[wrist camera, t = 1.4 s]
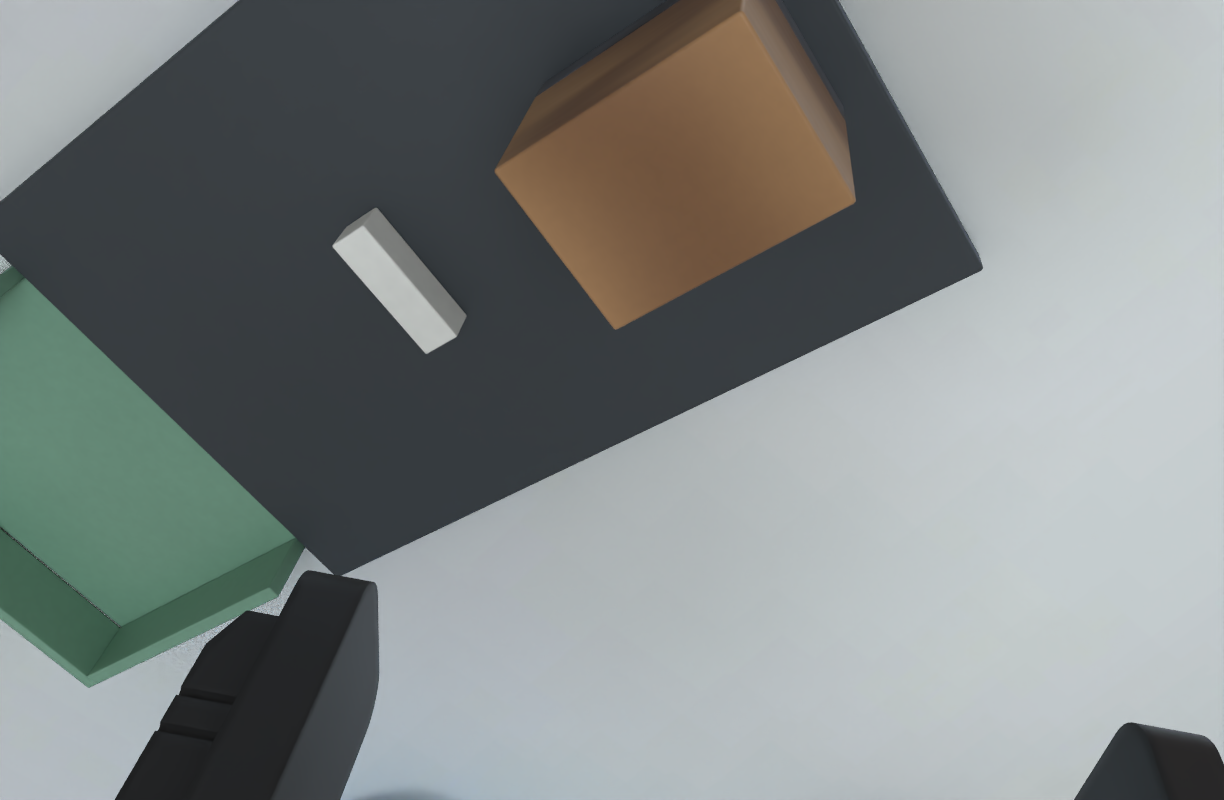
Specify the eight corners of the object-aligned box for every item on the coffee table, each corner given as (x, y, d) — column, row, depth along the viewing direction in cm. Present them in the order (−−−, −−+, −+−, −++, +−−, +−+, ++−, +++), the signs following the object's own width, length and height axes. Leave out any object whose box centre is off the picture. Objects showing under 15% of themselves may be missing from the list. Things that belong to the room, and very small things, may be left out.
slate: (649, -344, 22) (645, -344, 21) (980, 256, 28) (984, 270, 28) (-14, 215, 32) (-31, 227, 31) (344, 563, 38) (336, 578, 38)
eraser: (749, -57, 24) (742, 9, 19) (845, 108, 26) (858, 203, 21) (540, 84, 26) (491, 171, 22) (641, 225, 28) (614, 332, 24)
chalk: (376, 206, 29) (362, 225, 28) (467, 315, 31) (457, 337, 30) (345, 226, 29) (330, 246, 29) (436, 333, 31) (425, 355, 30)
